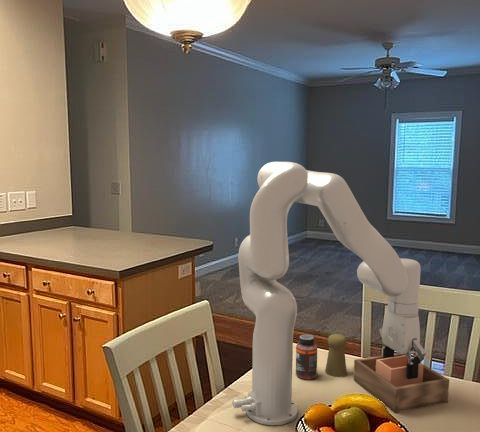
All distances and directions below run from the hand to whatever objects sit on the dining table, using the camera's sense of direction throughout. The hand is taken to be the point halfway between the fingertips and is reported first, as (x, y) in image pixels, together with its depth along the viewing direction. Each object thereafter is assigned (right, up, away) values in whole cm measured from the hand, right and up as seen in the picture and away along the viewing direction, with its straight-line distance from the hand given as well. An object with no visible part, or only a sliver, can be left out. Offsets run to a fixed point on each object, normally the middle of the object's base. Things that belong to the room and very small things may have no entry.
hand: (399, 370), depth 127 cm
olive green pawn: (-14, -5, +11) cm, 19 cm away
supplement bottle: (-23, -5, +9) cm, 26 cm away
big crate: (0, -6, +1) cm, 6 cm away
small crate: (0, -5, +1) cm, 5 cm away
